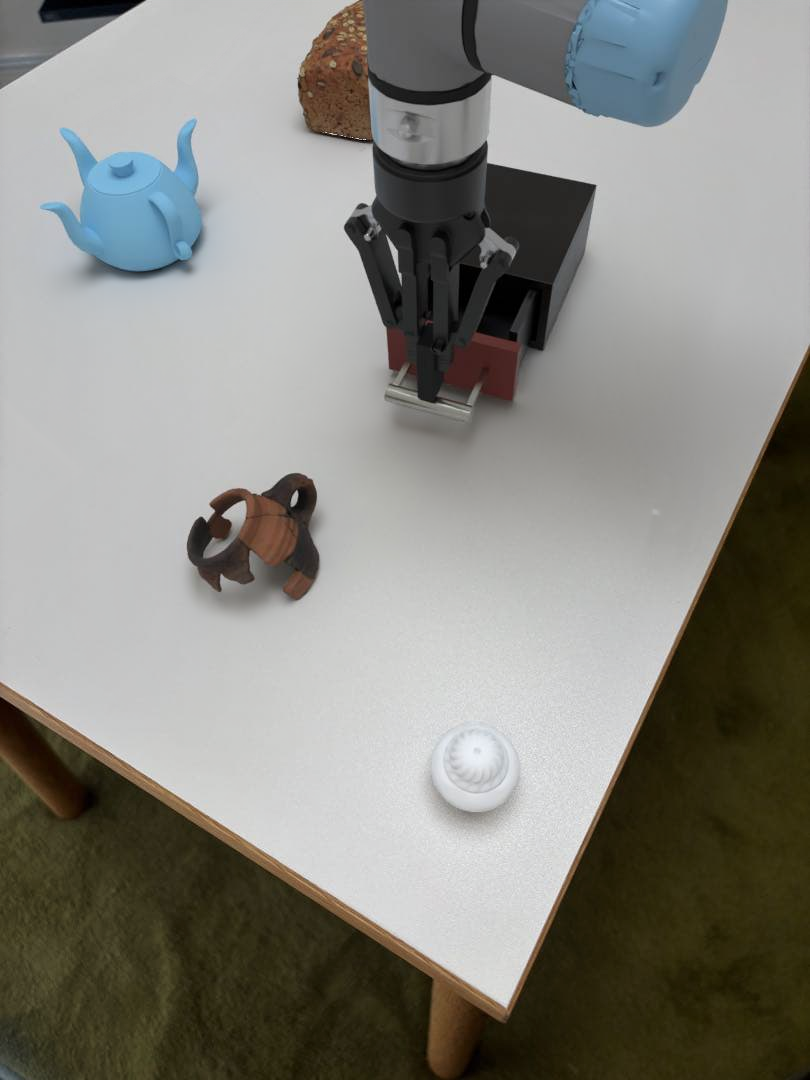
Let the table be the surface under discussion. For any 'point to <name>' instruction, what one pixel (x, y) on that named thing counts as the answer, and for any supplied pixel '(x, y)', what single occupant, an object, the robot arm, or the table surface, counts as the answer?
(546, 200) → the drawer box
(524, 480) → the table surface
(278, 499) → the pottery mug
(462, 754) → the muffin
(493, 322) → the red drawer
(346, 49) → the bread
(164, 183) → the teapot
